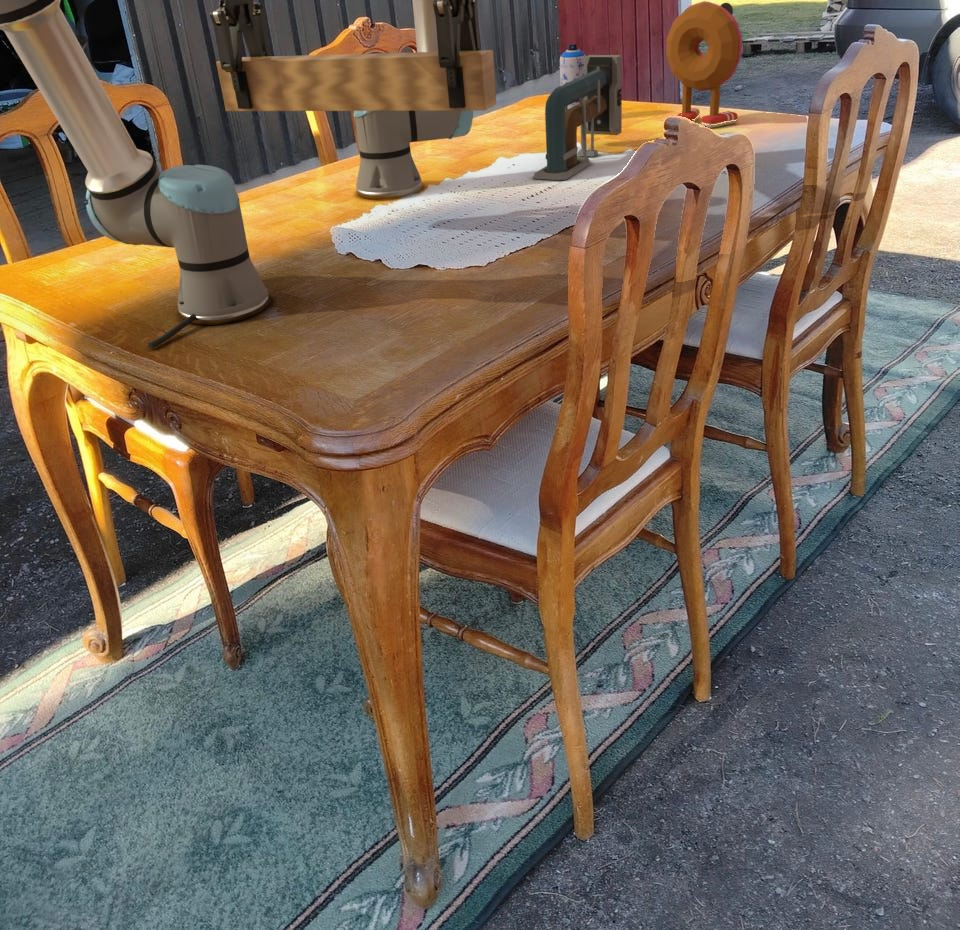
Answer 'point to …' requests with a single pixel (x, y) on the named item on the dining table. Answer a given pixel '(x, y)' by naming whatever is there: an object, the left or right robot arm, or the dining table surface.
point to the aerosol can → (572, 66)
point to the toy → (705, 56)
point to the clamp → (582, 116)
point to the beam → (361, 82)
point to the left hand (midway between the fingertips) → (254, 105)
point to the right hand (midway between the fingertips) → (464, 103)
